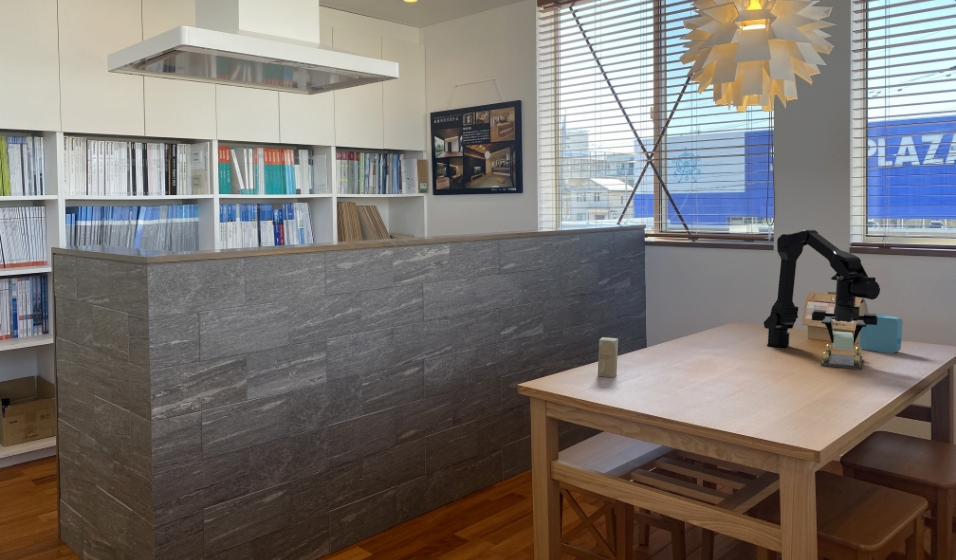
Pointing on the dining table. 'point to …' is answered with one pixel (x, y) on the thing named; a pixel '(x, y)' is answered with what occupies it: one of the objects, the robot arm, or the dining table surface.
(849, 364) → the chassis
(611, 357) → the box
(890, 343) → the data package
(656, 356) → the dining table surface
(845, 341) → the pale green block
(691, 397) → the dining table surface
